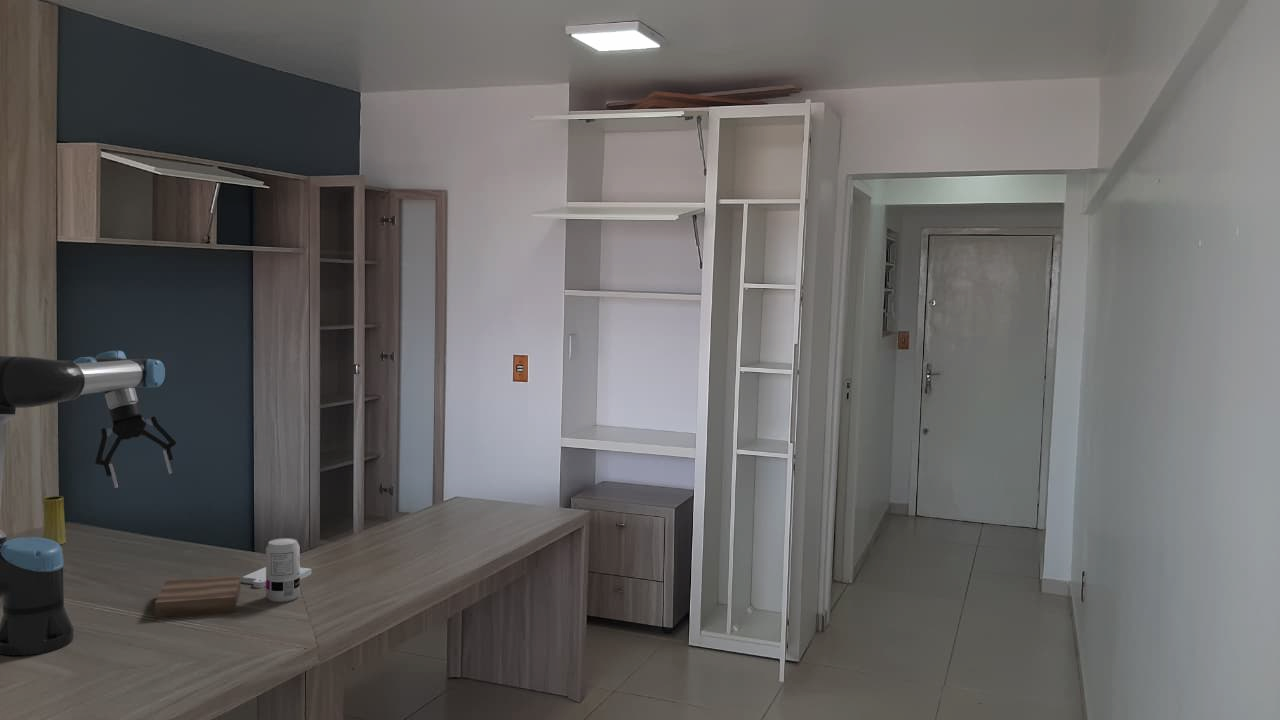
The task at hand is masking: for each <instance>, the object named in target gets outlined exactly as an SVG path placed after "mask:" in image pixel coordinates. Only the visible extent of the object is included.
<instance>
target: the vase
mask: <svg viewBox="0 0 1280 720" xmlns="http://www.w3.org/2000/svg"><path fill="white" fill-rule="evenodd" d="M64 507H65V502H64V496H62V495H56V496H55V495H54V496H52V495H51V496H46V497H44V498H43V538H46V539H50V540H53V541H55V542H57V543H58V544H59V545H60V546H62V545H64V543H65V544H66V543H67V539H66V537H67V536H66V525H65V508H64ZM61 544H62V545H61Z"/></svg>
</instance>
